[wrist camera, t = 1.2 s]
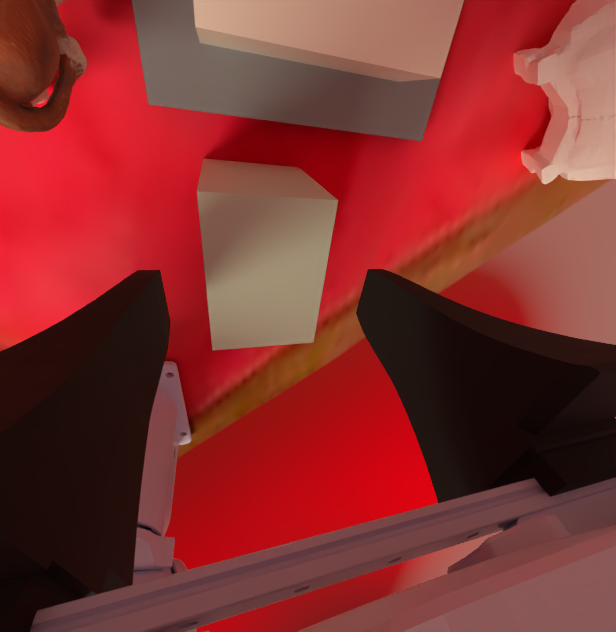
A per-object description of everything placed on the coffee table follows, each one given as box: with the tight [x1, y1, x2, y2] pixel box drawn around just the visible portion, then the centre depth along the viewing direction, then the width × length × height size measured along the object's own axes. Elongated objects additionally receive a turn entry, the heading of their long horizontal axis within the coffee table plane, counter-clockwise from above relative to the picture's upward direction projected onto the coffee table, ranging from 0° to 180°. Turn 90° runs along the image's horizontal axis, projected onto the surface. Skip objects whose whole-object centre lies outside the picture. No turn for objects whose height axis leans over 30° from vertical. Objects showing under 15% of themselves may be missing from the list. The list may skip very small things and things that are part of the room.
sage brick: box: [197, 158, 338, 351], centre depth 13 cm, size 6×4×6 cm
